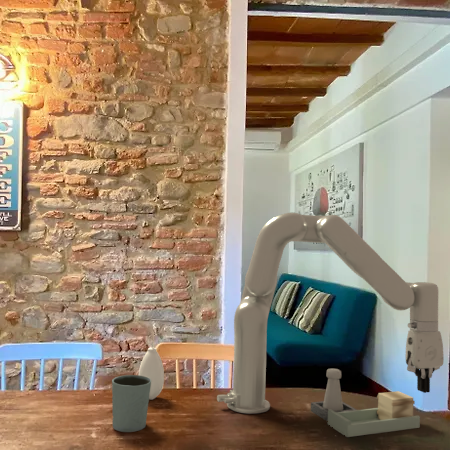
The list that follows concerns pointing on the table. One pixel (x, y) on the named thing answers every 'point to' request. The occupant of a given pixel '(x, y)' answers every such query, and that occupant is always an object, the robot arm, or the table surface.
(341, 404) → the salt shaker
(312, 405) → the grey square frame
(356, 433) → the bay
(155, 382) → the white vase
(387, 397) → the crate
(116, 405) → the green cup
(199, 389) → the table surface
